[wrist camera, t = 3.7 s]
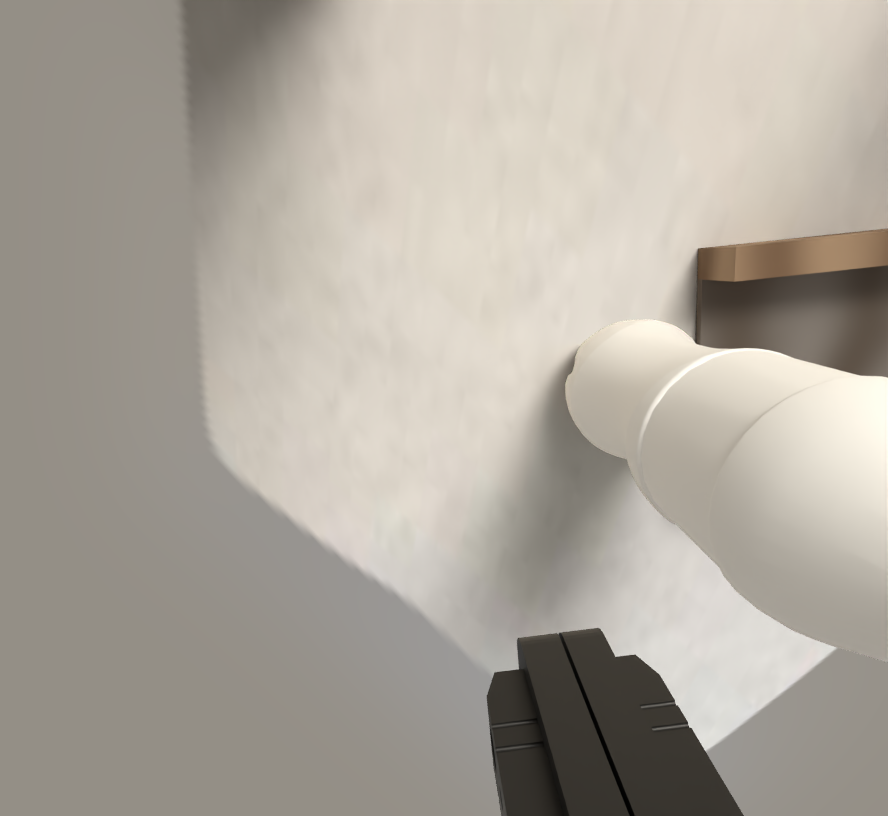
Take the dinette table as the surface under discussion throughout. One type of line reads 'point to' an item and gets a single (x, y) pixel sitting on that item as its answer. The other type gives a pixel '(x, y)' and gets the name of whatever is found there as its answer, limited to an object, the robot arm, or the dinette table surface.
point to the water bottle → (753, 468)
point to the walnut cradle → (800, 299)
